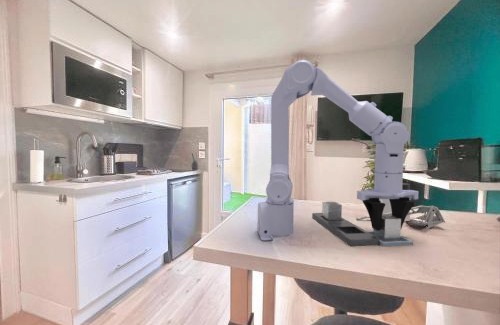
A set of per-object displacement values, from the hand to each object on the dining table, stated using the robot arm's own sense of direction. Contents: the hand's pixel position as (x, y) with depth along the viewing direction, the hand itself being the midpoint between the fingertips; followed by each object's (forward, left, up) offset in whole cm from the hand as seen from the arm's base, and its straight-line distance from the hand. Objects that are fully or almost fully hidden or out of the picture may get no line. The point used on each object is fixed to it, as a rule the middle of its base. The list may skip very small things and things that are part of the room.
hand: (386, 228), depth 54 cm
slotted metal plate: (-7, +8, -4) cm, 12 cm away
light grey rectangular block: (0, 0, -3) cm, 3 cm away
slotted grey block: (-7, +13, -3) cm, 15 cm away
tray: (0, 0, -4) cm, 4 cm away
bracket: (+13, +12, -4) cm, 18 cm away
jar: (+18, +19, -4) cm, 26 cm away
